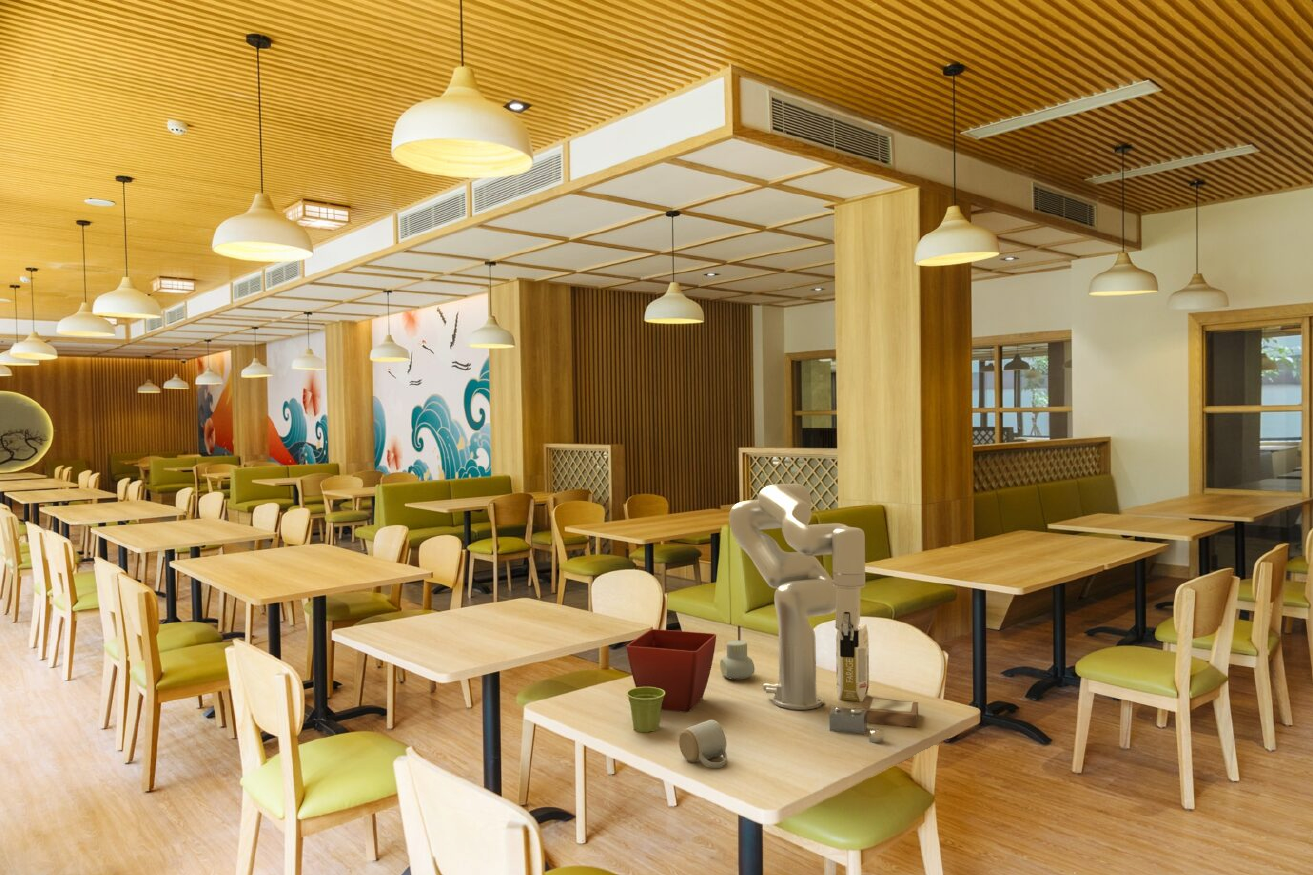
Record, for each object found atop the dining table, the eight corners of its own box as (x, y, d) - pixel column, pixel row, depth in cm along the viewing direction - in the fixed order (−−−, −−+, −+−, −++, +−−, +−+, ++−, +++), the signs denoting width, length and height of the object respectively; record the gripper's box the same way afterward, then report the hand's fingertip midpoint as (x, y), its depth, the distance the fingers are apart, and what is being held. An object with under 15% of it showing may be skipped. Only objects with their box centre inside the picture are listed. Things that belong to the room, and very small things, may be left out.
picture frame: (864, 722, 205) (864, 708, 205) (868, 709, 215) (868, 696, 215) (916, 727, 201) (915, 713, 201) (918, 714, 211) (918, 701, 211)
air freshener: (756, 681, 240) (756, 646, 240) (728, 683, 239) (728, 648, 239) (745, 671, 251) (745, 637, 251) (718, 672, 250) (718, 639, 250)
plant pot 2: (697, 718, 210) (696, 650, 210) (625, 711, 216) (624, 645, 216) (718, 695, 228) (717, 633, 228) (651, 689, 234) (651, 628, 234)
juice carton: (870, 694, 227) (869, 623, 227) (864, 703, 220) (863, 630, 219) (842, 690, 231) (841, 621, 230) (835, 700, 223) (834, 627, 223)
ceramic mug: (676, 757, 185) (676, 722, 185) (706, 748, 190) (706, 714, 189) (706, 773, 176) (706, 737, 176) (736, 764, 181) (736, 729, 181)
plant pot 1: (671, 723, 206) (670, 688, 206) (658, 737, 197) (657, 700, 197) (635, 720, 209) (634, 685, 209) (621, 733, 200) (620, 696, 200)
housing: (829, 731, 200) (829, 710, 200) (833, 724, 205) (833, 703, 205) (864, 735, 197) (863, 714, 197) (867, 728, 202) (867, 707, 202)
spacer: (869, 743, 192) (868, 732, 192) (870, 738, 195) (870, 727, 195) (882, 744, 191) (882, 733, 191) (884, 739, 194) (883, 729, 194)
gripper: (837, 573, 210) (837, 641, 210) (828, 585, 194) (828, 660, 194) (868, 574, 208) (869, 643, 208) (861, 587, 191) (862, 662, 191)
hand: (849, 651), depth 201 cm, fingers open, 9 cm apart
